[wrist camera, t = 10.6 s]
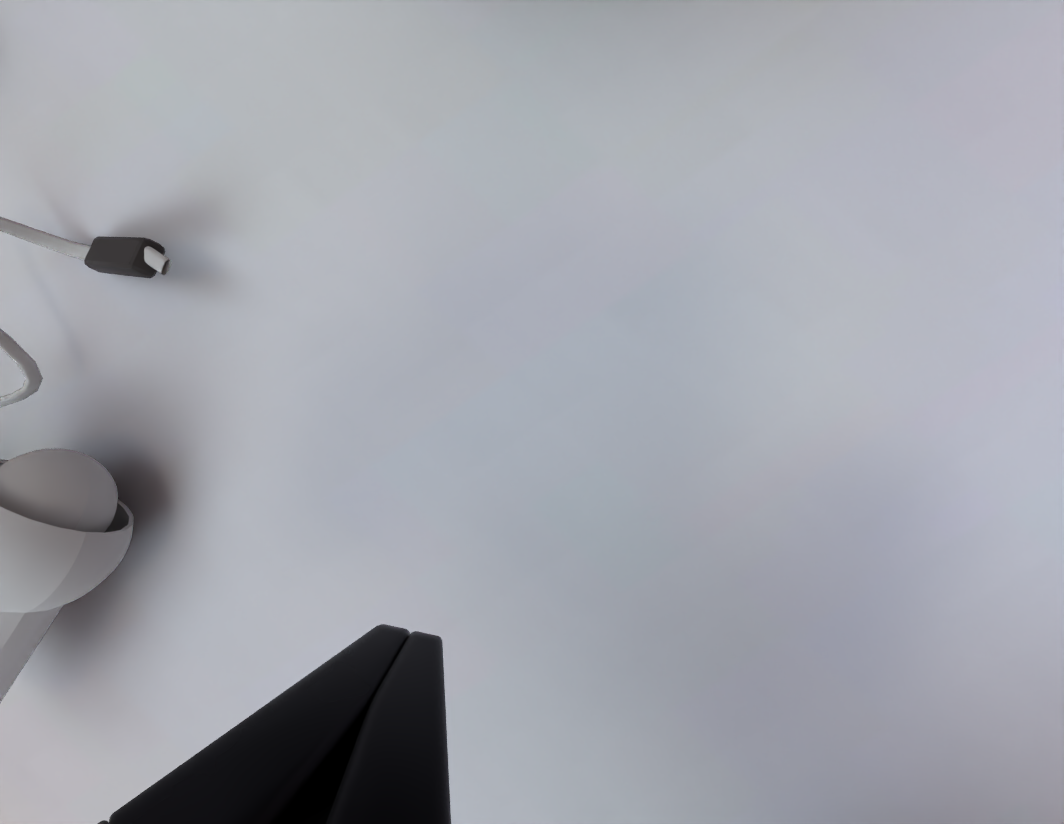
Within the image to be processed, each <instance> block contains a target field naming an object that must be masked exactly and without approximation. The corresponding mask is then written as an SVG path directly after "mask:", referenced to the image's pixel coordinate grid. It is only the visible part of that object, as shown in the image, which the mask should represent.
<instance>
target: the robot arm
mask: <svg viewBox="0 0 1064 824" xmlns="http://www.w3.org/2000/svg"><path fill="white" fill-rule="evenodd" d="M98 824H451V814H450V794H449V773H448V752H447V731H446V710H445V690H444V669H443V648H442V640H441V638H440V637H439V636H435V635H431V634H426V633H422V632H417V631H415V632H412V633H411V634H410V632H409V631H408V630H407V629H403V628H399V627H394V626H390V625H385V624H382V625H379V626H376V627H375V628H373V629H372V630H371V631H369V632H368V633H366V634H365V635H363V636H362V637H361V638H359V639H358V640H356V641H355V642H354V643H352V644H351V645H349V646H348V647H347V648H345V649H344V650H342V651H341V652H340V653H338V654H337V655H335V656H334V657H332V658H331V659H330V660H328V661H327V662H325V663H324V664H323V665H321V666H320V667H318V668H317V669H316V670H314V671H313V672H311V673H310V674H309V675H307V676H306V677H304V678H303V679H301V680H300V681H299V682H297V683H296V684H294V685H293V686H292V687H290V688H289V689H287V690H286V691H285V692H283V693H282V694H280V695H279V696H278V697H276V698H275V699H273V700H272V701H270V702H269V703H268V704H266V705H265V706H263V707H262V708H261V709H259V710H258V711H256V712H255V713H254V714H252V715H251V716H249V717H248V718H247V719H245V720H244V721H242V722H241V723H239V724H238V725H237V726H235V727H234V728H232V729H231V730H230V731H228V732H227V733H225V734H224V735H223V736H221V737H220V738H218V739H217V740H216V741H214V742H213V743H211V744H210V745H208V746H207V747H206V748H204V749H203V750H201V751H200V752H199V753H197V754H196V755H194V756H193V757H192V758H190V759H189V760H187V761H186V762H185V763H183V764H182V765H180V766H179V767H177V768H176V769H175V770H173V771H172V772H170V773H169V774H168V775H166V776H165V777H163V778H162V779H161V780H159V781H158V782H156V783H155V784H154V785H152V786H151V787H149V788H148V789H146V790H145V791H144V792H142V793H141V794H139V795H138V796H137V797H135V798H134V799H132V800H131V801H130V802H128V803H127V804H125V805H124V806H123V807H121V808H120V809H118V810H117V811H115V812H114V813H113V814H112V815H111V817H110V820H109V823H108V821H105V820H104V821H101V822H99V823H98Z"/></svg>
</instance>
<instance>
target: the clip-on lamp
mask: <svg viewBox="0 0 1064 824" xmlns="http://www.w3.org/2000/svg"><path fill="white" fill-rule="evenodd" d="M0 231H2V232H4V233H7V234H10V235H13V236H15V237H18V238H21V239H24V240H26V241H29V242H32V243H35V244H37V245H40V246H43V247H46V248H49V249H51V250H54V251H57V252H60V253H63V254H66V255H68V256H72V257H75V258H79V259H82V260H84V261H85V265H87V266H88V267H89V268H91V269H94V270H96V271H98V272H102V273H109V274H118V275H127V276H136V277H145V278H152V277H153V276H155V274H156V271H158V272H160V273H161V274H162V275H165V274H167V273H168V271H169V268H170V266H171V260H170V259H168V258H167V257H165V256H164V254H165V249H164V247H162V246H161V245H160V244H159V243H157V242H155V241H153V240H151V239H147V238H136V237H96V238H95V239H94V241H93V243H92V245H91V246H88V245H84V244H80V243H77V242H73V241H69V240H66V239H63V238H60V237H58V236H55V235H52V234H49V233H46V232H43V231H40V230H37V229H34V228H31V227H28V226H25V225H23V224H20V223H17V222H14V221H11V220H8V219H5V218H2V217H0ZM0 348H1V349H2V350H3V351H4V352H5V353H6V354H7V355H8V356H9V357H10V358H11V359H13V360H14V361H15V362H16V363H17V365H18V366H19V368H20V370H21V372H22V373H23V375H24V377H25V381H24V384H23V387H22V388H21V389H19V390H17V391H15V392H14V393H12V394H9V395H5V396H2V397H0V407H3V406H7V405H9V404H12V403H15V402H18V401H21V400H24V399H25V398H27V397H29V396H30V395H32V394H33V393H35V392H37V391H38V389H39V386H40V384H41V382H42V379H43V378H42V376H41V373H40V371H39V369H38V366H37V364H36V362H35V361H34V360H33V359H32V358H31V357H30V356H29V355H28V354H27V353H26V352H25V351H24V350H23V349H22V348H21V347H20V346H19V345H18V344H17V343H16V342H15V341H14V340H13V339H12V338H11V337H10V336H9V335H8V334H6V333H5V332H4V331H3V330H1V329H0ZM133 521H134V516H133V514H132V513H131V511H130V510H129V508H128V507H127V506H126V505H125V504H124V503H122V502H121V501H120V500H119V499H118V492H117V487H116V484H115V481H114V479H113V478H112V476H111V474H110V473H109V471H108V470H107V469H106V468H105V467H104V466H103V465H102V464H101V463H99V462H98V461H97V460H95V459H94V458H92V457H90V456H88V455H86V454H83V453H80V452H77V451H73V450H67V449H41V450H36V451H32V452H28V453H25V454H22V455H19V456H17V457H15V458H13V459H10V460H0V703H1V701H2V700H3V698H4V697H5V695H6V693H7V692H8V690H9V689H10V687H11V686H12V684H13V683H14V681H15V679H16V678H17V676H18V675H19V673H20V672H21V670H22V669H23V667H24V665H25V664H26V662H27V661H28V659H29V658H30V656H31V655H32V653H33V651H34V650H35V648H36V647H37V645H38V644H39V642H40V641H41V639H42V637H43V636H44V634H45V633H46V631H47V630H48V628H49V627H50V625H51V623H52V622H53V620H54V619H55V617H56V616H57V614H58V613H59V611H60V609H61V608H62V606H63V605H65V604H68V603H70V602H73V601H75V600H76V599H78V598H80V597H82V596H84V595H85V594H87V593H88V592H90V591H91V590H92V589H94V588H95V587H96V586H97V585H99V584H100V583H101V582H102V581H103V580H104V579H106V578H107V577H108V576H109V575H110V574H111V573H112V572H113V571H114V570H115V569H116V567H117V566H118V565H119V563H120V562H121V560H122V559H123V557H124V555H125V553H126V552H127V550H128V548H129V544H130V541H131V538H132V531H133Z"/></svg>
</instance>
